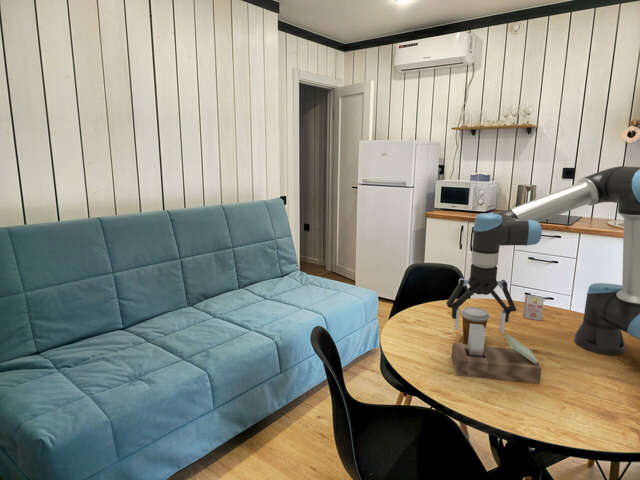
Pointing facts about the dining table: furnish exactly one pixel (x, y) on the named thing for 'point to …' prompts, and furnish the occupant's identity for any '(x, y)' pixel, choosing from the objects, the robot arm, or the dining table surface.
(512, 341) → the plate
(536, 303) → the tea bag
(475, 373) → the walnut block
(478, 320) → the disposable coffee cup
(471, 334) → the steel pin
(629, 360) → the dining table surface
